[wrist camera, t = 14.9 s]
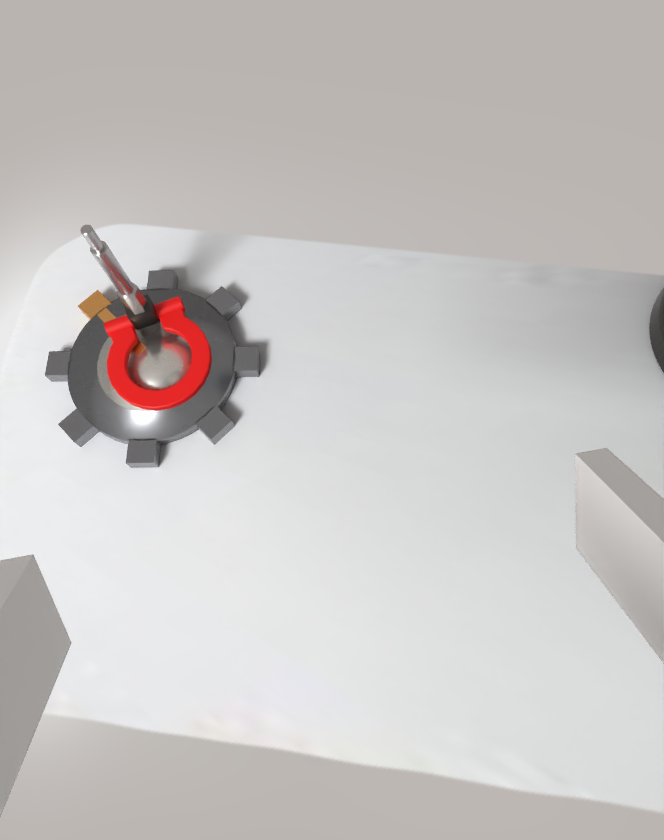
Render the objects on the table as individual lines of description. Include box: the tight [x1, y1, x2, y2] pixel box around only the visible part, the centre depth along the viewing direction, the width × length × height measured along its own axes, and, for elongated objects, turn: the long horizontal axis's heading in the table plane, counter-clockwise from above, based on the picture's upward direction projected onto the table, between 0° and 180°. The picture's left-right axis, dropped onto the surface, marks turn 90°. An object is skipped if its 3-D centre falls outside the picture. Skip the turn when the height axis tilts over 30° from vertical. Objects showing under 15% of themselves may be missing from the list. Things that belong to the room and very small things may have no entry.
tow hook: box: [81, 225, 212, 411], centre depth 46 cm, size 8×13×9 cm
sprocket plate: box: [45, 270, 260, 468], centre depth 52 cm, size 18×18×1 cm
